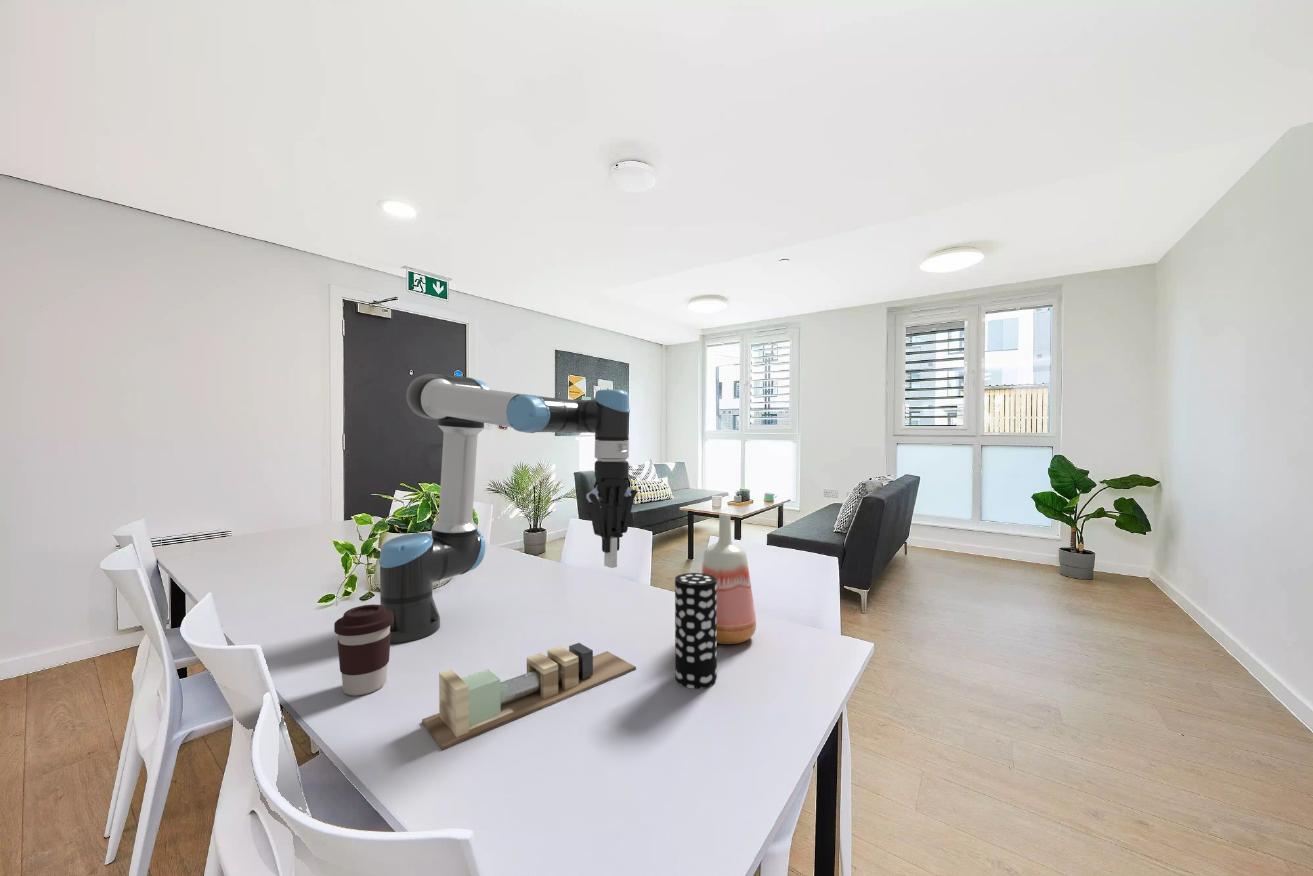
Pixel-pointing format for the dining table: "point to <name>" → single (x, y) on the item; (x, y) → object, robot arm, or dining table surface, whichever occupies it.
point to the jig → (455, 698)
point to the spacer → (483, 696)
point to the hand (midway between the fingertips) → (610, 566)
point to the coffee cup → (364, 648)
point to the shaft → (532, 680)
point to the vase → (730, 587)
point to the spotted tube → (696, 630)
